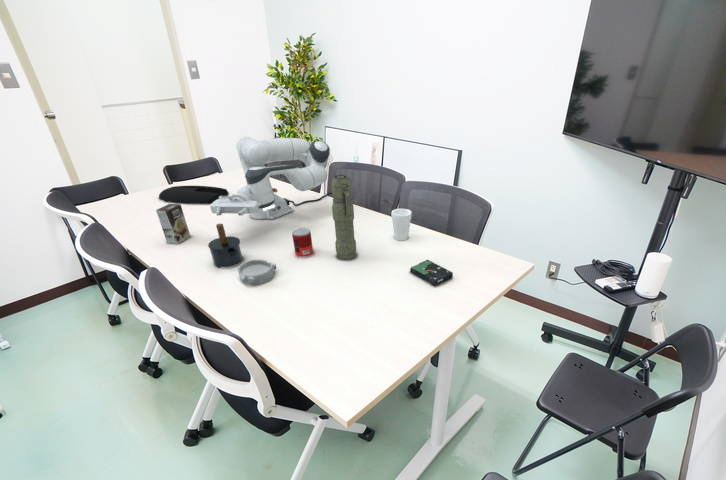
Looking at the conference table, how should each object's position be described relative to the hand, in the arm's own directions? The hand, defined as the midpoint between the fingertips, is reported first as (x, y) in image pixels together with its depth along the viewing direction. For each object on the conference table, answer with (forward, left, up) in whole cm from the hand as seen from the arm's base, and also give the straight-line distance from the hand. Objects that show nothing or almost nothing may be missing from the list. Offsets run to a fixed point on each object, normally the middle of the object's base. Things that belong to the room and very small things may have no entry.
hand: (229, 213), depth 168 cm
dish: (+6, +29, -17) cm, 35 cm away
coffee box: (+14, -30, -17) cm, 37 cm away
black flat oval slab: (-16, -86, -17) cm, 89 cm away
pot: (+8, +8, -17) cm, 21 cm away
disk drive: (-44, +78, -17) cm, 91 cm away
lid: (+8, +8, -9) cm, 15 cm away
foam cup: (-62, +44, -17) cm, 78 cm away
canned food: (-19, +25, -17) cm, 36 cm away
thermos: (-31, +40, -17) cm, 53 cm away
